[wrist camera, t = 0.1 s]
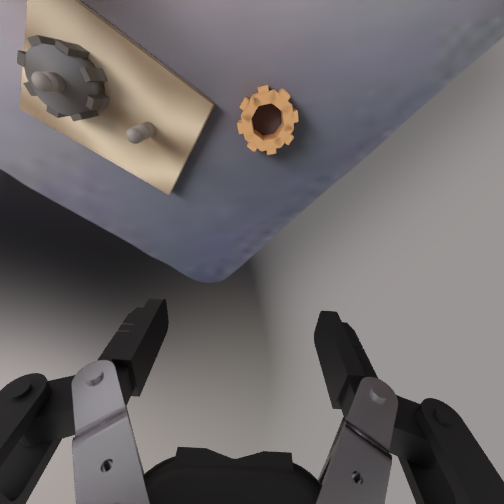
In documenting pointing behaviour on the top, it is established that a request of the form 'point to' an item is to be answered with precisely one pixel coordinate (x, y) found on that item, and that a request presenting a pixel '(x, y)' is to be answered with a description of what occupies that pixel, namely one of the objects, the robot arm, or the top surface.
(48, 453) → the robot arm
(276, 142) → the gear
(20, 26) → the top surface
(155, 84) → the gear board
